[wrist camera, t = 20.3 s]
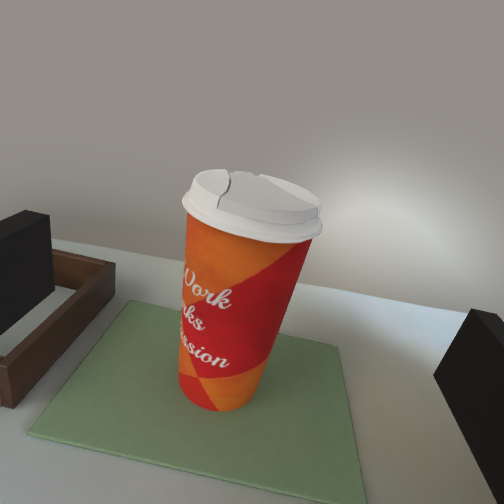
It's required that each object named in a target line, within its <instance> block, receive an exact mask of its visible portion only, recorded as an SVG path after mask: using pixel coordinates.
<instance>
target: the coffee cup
mask: <svg viewBox="0 0 504 504" xmlns="http://www.w3.org/2000/svg"><path fill="white" fill-rule="evenodd" d="M229 175H230V177H231V178H229ZM182 203H183V206H184V208H185V209H186V210H187V212H188V213H187V214H188V215H187V230H186V246H185V262H184V278H183V294H182V310H181V327H180V346H179V384H180V387H181V389H182V391H183V393H184V394H185V396H186V397H187V398H188V399H189V400H190V401H191V402H193V403H194V404H196V405H197V406H199V407H202V408H204V409H207V410H211V411H220V412H222V411H231V410H235V409H237V408H240V407H242V406H243V405H245V404H246V403H247V402H248V401H249V400H250V399H251V398H252V396H253V395H254V393H255V391H256V389H257V386H258V384H259V381H260V379H261V376H262V374H263V371H264V369H265V366H266V363H267V361H268V358H269V356H270V353H271V350H272V348H273V345H274V342H275V339H276V337H277V334H278V331H279V329H280V326H281V323H282V321H283V318H284V315H285V312H286V310H287V307H288V304H289V301H290V299H291V296H292V293H293V291H294V288H295V285H296V282H297V280H298V277H299V274H300V271H301V269H302V266H303V263H304V261H305V258H306V255H307V252H308V250H309V247H310V244H311V241H312V239H313V238H314V237H316V236H318V235H319V234H320V233H321V231H322V222H321V219H320V218H319V213H320V202H319V200H318V198H317V197H316V196H315V195H314V194H312V193H311V192H310V191H308V190H306V189H304V188H302V187H300V186H298V185H295V184H293V183H290V182H287V181H285V180H281V179H278V178H275V177H271V176H267V175H263V174H260V175H259V176H254V175H253V173H249V172H240V171H234V173H228V172H227V170H225V169H217V170H207V171H202V172H200V173H198V174H197V175H196V176H195V177H194V180H193V182H192V186H191V189H190V190H189V191H188V192H186V194H185V195H184V197H183V199H182Z"/></svg>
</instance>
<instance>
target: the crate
mask: <svg viewBox="0 0 504 504" xmlns="http://www.w3.org/2000/svg"><path fill="white" fill-rule="evenodd" d="M52 257H53V271H54V285H58V286H63V287H67V288H71V289H76V290H77V291H76V292H75V293H74V294H73V295H72V296H71V297H70V298H69V299H67V300H66V301H65V302H64V303H63V304H62V305H61V306H60V307H59V308H58V309H57V310H56V311H54V312H53V313H52V314H51V315H50V316H49V317H48V318H47V319H46V320H45V321H44V322H42V323H41V324H40V325H39V326H38V327H37V328H36V329H35V330H34V331H33V332H32V333H31V334H29V335H28V336H27V337H26V338H25V339H24V340H23V341H22V342H21V343H20V344H19V345H17V346H16V347H15V348H14V349H13V350H12V351H11V352H10V353H9V354H8V355H7V356H5V357H4V356H0V406H4V407H8V408H12V409H14V408H15V407H16V406H17V405H18V404H19V402H20V401H21V400H22V399H23V398H24V397H25V396H26V394H27V393H28V392H29V391H30V390H31V389H32V388H33V386H34V385H35V384H36V383H37V382H38V381H39V380H40V379H41V377H42V376H43V375H44V374H45V373H46V372H47V371H48V369H49V368H50V367H51V366H52V365H53V364H54V363H55V361H56V360H57V359H58V358H59V357H60V356H61V355H62V354H63V352H64V351H65V350H66V349H67V348H68V347H69V346H70V344H71V343H72V342H73V341H74V340H75V339H76V338H77V336H78V335H79V334H80V333H81V332H82V331H83V330H84V329H85V327H86V326H87V325H88V324H89V323H90V322H91V321H92V319H93V318H94V317H95V316H96V315H97V314H98V313H99V311H100V310H101V309H102V308H103V307H104V306H105V305H106V304H107V302H108V301H109V300H110V299H111V298H112V297H113V296H114V294H115V270H116V263H114V262H108V261H105V260H100V259H96V258H91V257H87V256H82V255H78V254H74V253H69V252H65V251H60V250H56V249H52Z"/></svg>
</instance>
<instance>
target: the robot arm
mask: <svg viewBox="0 0 504 504" xmlns="http://www.w3.org/2000/svg"><path fill="white" fill-rule="evenodd" d="M53 291H55V285H54V271H53V257H52V244H51V230H50V217H49V215H46V214H41V213H37V212H32V211H28V210H24V211H22V212H19V213H17V214H15V215H13V216H10V217H8V218H6V219H4V220H1V221H0V335H2V334H3V333H4V332H5V331H6V330H8V329H9V328H10V327H11V326H12V325H14V324H15V323H16V322H17V321H18V320H20V319H21V318H22V317H23V316H24V315H26V314H27V313H28V312H29V311H30V310H32V309H33V308H34V307H35V306H37V305H38V304H39V303H40V302H41V301H43V300H44V299H45V298H46V297H47V296H49V295H50V294H51V293H52V292H53ZM433 376H434V378H435V380H436V382H437V384H438V386H439V388H440V390H441V392H442V394H443V396H444V398H445V400H446V402H447V404H448V406H449V408H450V410H451V412H452V414H453V416H454V418H455V420H456V422H457V424H458V426H459V428H460V430H461V432H462V434H463V436H464V438H465V440H466V442H467V444H468V446H469V448H470V450H471V452H472V454H473V456H474V458H475V460H476V462H477V464H478V466H479V468H480V470H481V472H482V474H483V476H484V478H485V480H486V482H487V484H488V486H489V488H490V490H491V492H492V494H493V496H494V498H495V500H496V502H497V504H504V322H503V321H502V319H501V318H500V317H499V316H498V315H497V314H494V313H489V312H485V311H480V310H476V309H471V310H470V312H469V313H468V315H467V317H466V319H465V320H464V322H463V324H462V326H461V327H460V329H459V331H458V333H457V334H456V336H455V338H454V340H453V341H452V343H451V345H450V346H449V348H448V350H447V352H446V353H445V355H444V357H443V359H442V360H441V362H440V364H439V366H438V367H437V369H436V371H435V373H434V374H433Z"/></svg>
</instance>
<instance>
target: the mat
mask: <svg viewBox="0 0 504 504" xmlns="http://www.w3.org/2000/svg"><path fill="white" fill-rule="evenodd" d="M180 327H181V311H178V310H173V309H169V308H165V307H160V306H156V305H151V304H147V303H142V302H138V301H134V300H130V301H129V302H128V304H127V305H126V306H125V307H124V309H123V310H122V311H121V313H120V314H119V315H118V316H117V318H116V319H115V320H114V322H113V323H112V324H111V325H110V327H109V328H108V329H107V331H106V332H105V333H104V334H103V336H102V337H101V338H100V340H99V341H98V342H97V343H96V345H95V346H94V347H93V349H92V350H91V351H90V352H89V354H88V355H87V356H86V358H85V359H84V360H83V361H82V363H81V364H80V365H79V366H78V368H77V369H76V370H75V372H74V373H73V374H72V375H71V377H70V378H69V379H68V381H67V382H66V383H65V384H64V386H63V387H62V388H61V390H60V391H59V392H58V393H57V395H56V396H55V397H54V399H53V400H52V401H51V402H50V404H49V405H48V406H47V408H46V409H45V410H44V411H43V413H42V414H41V415H40V417H39V418H38V419H37V420H36V422H35V423H34V424H33V426H32V427H31V428H30V429H29V431H28V435H30V436H34V437H38V438H43V439H47V440H51V441H56V442H60V443H64V444H69V445H73V446H77V447H82V448H86V449H90V450H95V451H99V452H103V453H108V454H112V455H116V456H121V457H125V458H129V459H134V460H138V461H142V462H147V463H151V464H156V465H160V466H164V467H169V468H173V469H177V470H182V471H186V472H190V473H195V474H199V475H203V476H208V477H212V478H216V479H221V480H225V481H229V482H234V483H238V484H242V485H247V486H251V487H255V488H260V489H264V490H268V491H273V492H277V493H281V494H286V495H290V496H294V497H299V498H303V499H307V500H312V501H316V502H320V503H325V504H367V503H366V497H365V492H364V487H363V481H362V476H361V470H360V465H359V460H358V454H357V449H356V443H355V438H354V433H353V427H352V422H351V417H350V411H349V406H348V400H347V395H346V390H345V384H344V379H343V373H342V368H341V363H340V357H339V352H338V347H337V346H333V345H328V344H324V343H319V342H315V341H311V340H306V339H302V338H297V337H293V336H289V335H284V334H280V333H278V334H277V337H276V339H275V342H274V345H273V348H272V350H271V353H270V356H269V358H268V361H267V363H266V366H265V369H264V371H263V374H262V376H261V379H260V381H259V384H258V386H257V389H256V391H255V393H254V395H253V396H252V398H251V399H250V400H249V401H248V402H247V403H246V404H245V405H243V406H242V407H240V408H237V409H235V410H231V411H222V412H220V411H211V410H207V409H204V408H202V407H199V406H197V405H196V404H194V403H193V402H191V401H190V400H189V399H188V398H187V397H186V396H185V394H184V393H183V391H182V389H181V387H180V384H179V346H180Z"/></svg>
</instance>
